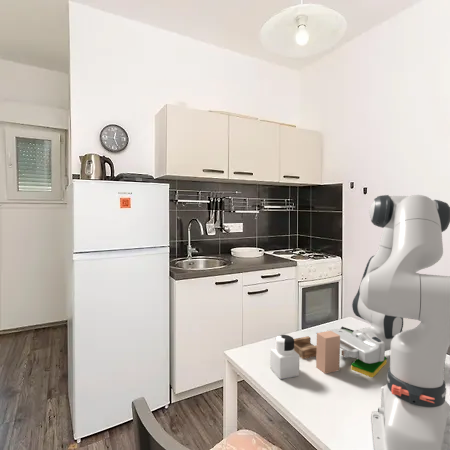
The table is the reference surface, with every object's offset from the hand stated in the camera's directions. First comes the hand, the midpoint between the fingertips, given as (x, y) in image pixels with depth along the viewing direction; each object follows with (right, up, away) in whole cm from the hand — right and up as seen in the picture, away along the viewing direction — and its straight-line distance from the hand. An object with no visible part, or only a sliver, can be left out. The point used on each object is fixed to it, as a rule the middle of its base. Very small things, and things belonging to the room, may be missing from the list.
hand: (333, 347), depth 104 cm
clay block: (-2, -7, 0) cm, 7 cm away
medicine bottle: (-17, -7, -3) cm, 19 cm away
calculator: (+13, -6, +23) cm, 27 cm away
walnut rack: (-6, -6, +13) cm, 16 cm away
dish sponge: (+13, -8, +2) cm, 15 cm away
